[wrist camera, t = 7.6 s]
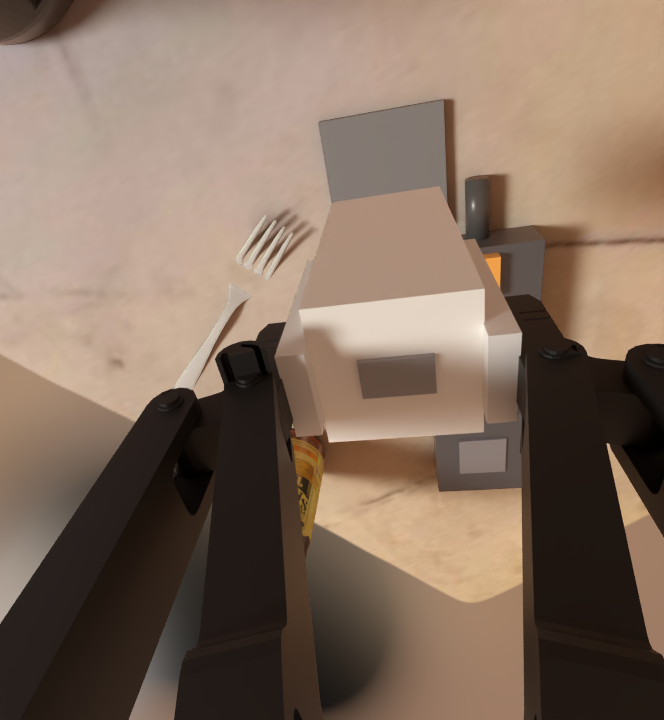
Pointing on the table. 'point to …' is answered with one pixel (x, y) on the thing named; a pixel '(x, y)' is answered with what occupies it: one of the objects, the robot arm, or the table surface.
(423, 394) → the block
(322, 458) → the sauce bottle
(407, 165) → the mat
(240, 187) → the table surface
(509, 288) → the power strip
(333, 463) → the table surface
